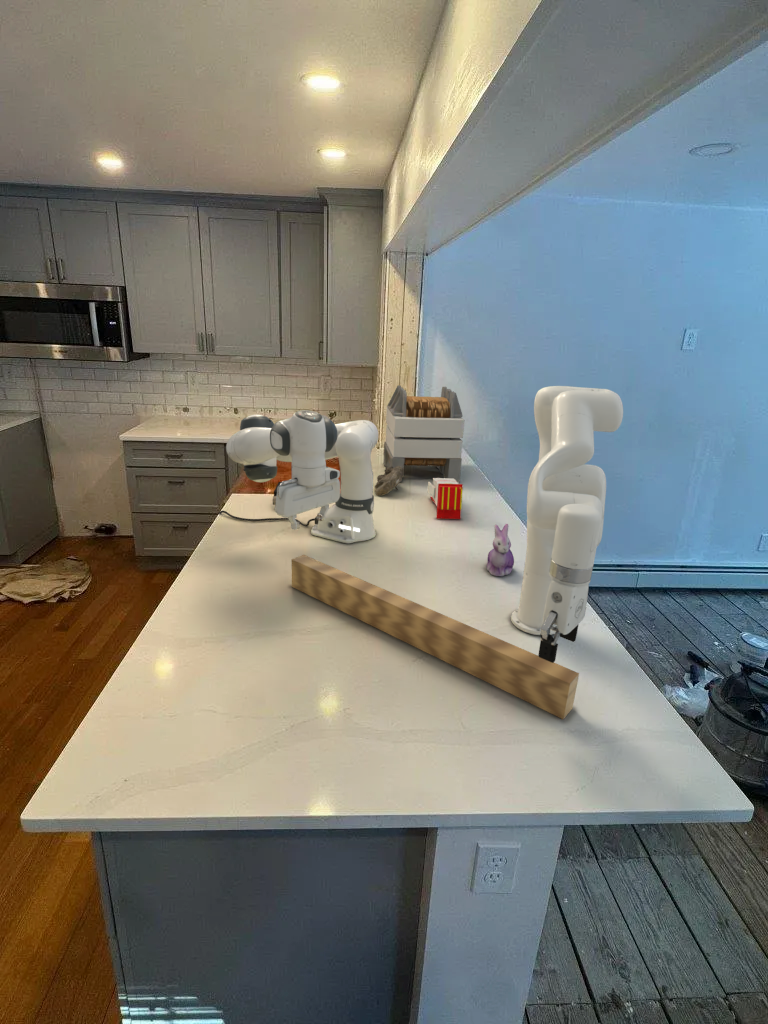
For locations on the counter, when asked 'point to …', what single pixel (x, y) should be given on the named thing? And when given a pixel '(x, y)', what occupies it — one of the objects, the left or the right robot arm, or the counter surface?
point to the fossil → (388, 480)
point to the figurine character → (275, 494)
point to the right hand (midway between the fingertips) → (557, 648)
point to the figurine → (500, 553)
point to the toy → (446, 497)
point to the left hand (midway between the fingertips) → (308, 524)
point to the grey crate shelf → (424, 432)
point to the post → (441, 636)
